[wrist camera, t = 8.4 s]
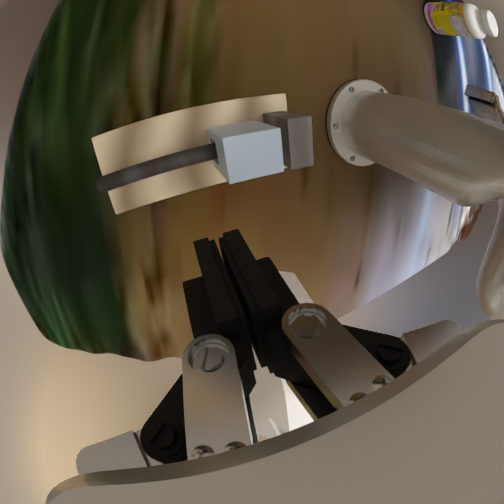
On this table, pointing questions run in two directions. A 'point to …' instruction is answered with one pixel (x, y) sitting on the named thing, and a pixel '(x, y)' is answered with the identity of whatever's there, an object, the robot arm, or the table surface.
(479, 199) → the robot arm
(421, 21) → the table surface
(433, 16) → the supplement bottle
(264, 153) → the sleeve
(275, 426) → the milk
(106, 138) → the board
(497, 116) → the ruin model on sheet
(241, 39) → the table surface
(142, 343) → the table surface
